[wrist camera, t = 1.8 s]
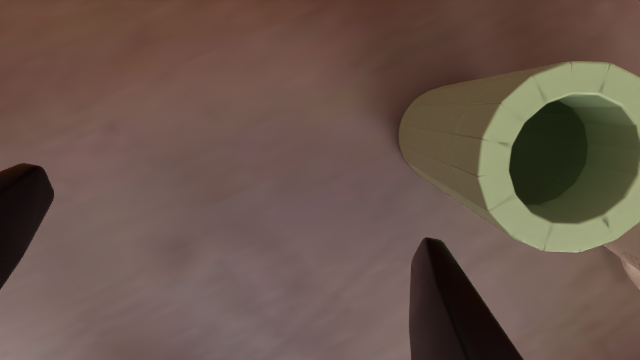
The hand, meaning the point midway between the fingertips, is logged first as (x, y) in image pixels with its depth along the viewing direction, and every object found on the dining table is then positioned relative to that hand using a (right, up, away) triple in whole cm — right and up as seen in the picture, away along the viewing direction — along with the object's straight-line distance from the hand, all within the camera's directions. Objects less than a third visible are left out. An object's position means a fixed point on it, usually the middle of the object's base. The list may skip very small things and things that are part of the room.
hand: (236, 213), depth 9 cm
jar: (+10, +4, +16) cm, 19 cm away
